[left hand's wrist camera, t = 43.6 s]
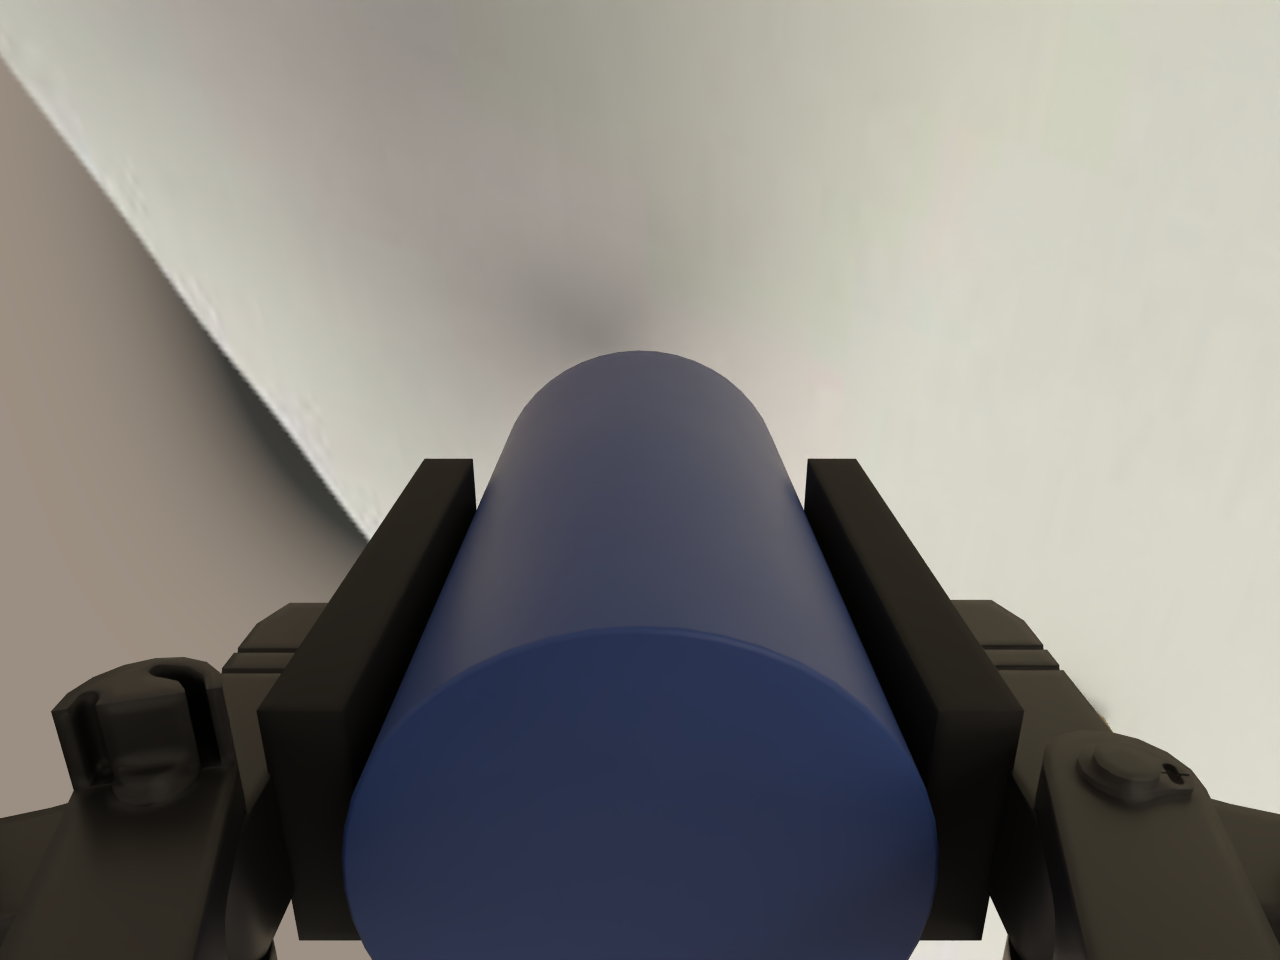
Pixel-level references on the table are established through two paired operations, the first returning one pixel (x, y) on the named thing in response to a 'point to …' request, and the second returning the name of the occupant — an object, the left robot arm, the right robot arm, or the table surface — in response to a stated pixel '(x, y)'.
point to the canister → (640, 710)
